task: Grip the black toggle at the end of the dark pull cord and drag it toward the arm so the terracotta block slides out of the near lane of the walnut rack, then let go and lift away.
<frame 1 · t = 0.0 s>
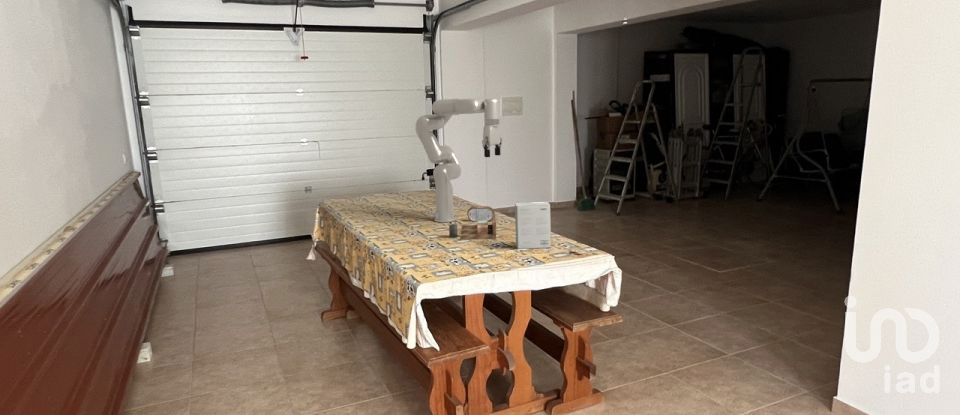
hand: (492, 156, 304), 37 cm above the table, tool pointing down, fingers open, 9 cm apart
tin: (481, 221, 325), on the table
lane rack: (476, 233, 296), on the table
hard drive box: (533, 246, 269), on the table
pull block: (482, 236, 290), on the table
sage block: (482, 231, 301), resting in lane rack
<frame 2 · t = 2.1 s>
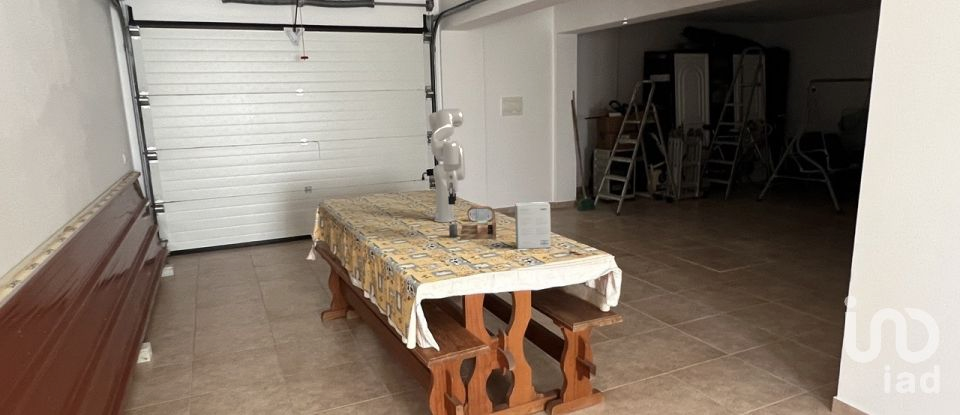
hand: (452, 202, 287), 17 cm above the table, tool pointing down, fingers open, 9 cm apart
nothing on the table moved.
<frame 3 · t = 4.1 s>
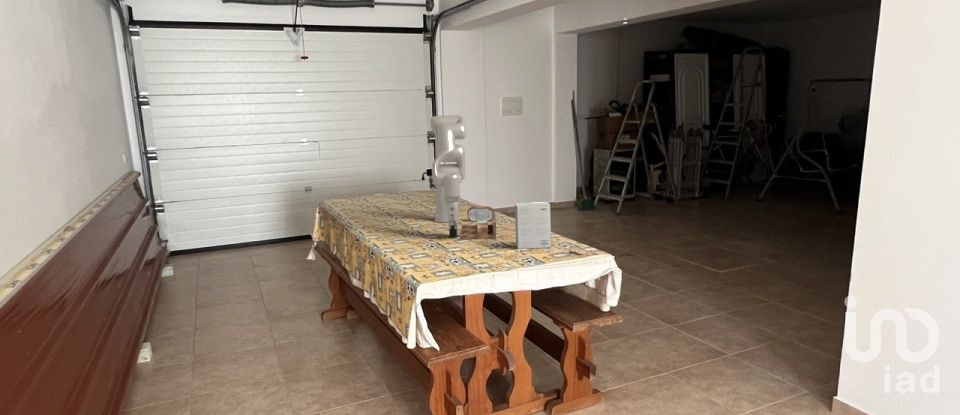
hand: (453, 235, 290), 1 cm above the table, tool pointing down, fingers closed on pull block, 4 cm apart
pull block: (482, 236, 290), on the table, touching gripper
everything else where it was.
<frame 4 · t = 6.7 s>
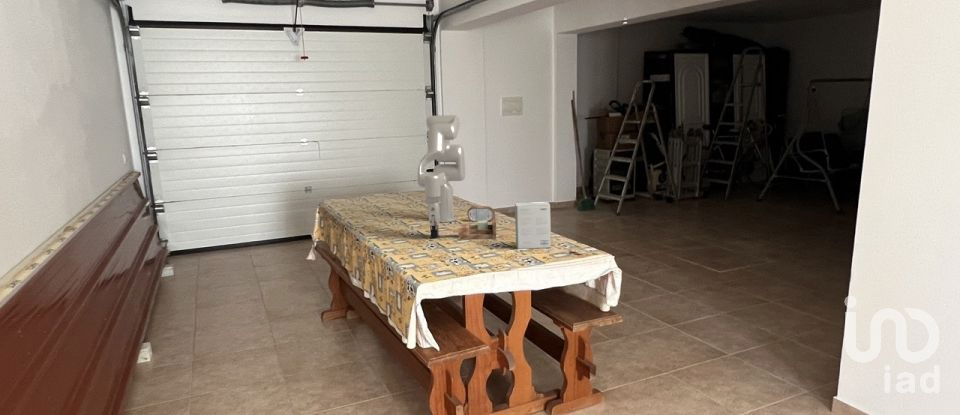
hand: (434, 235, 290), 1 cm above the table, tool pointing down, fingers closed on pull block, 4 cm apart
pull block: (464, 236, 290), on the table, touching gripper
everything else where it was.
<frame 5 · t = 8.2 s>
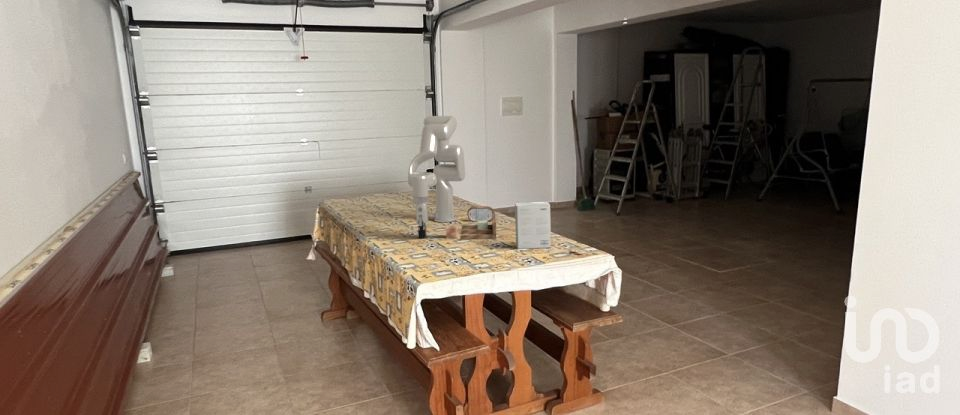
hand: (422, 236, 290), 1 cm above the table, tool pointing down, fingers closed on pull block, 4 cm apart
pull block: (451, 237, 290), on the table, touching gripper
everything else where it was.
when the fingers open (1 cm above the table, at t = 9.3 s): pull block stays where it is, on the table.
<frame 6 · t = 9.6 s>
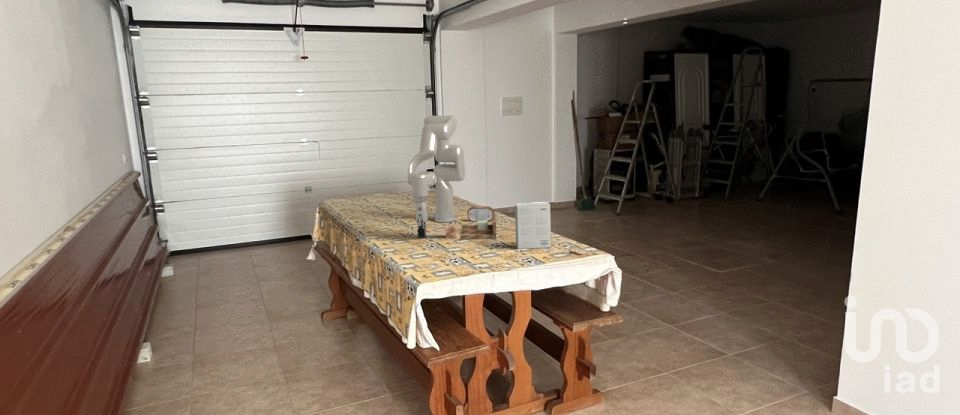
hand: (422, 234, 290), 2 cm above the table, tool pointing down, fingers open, 6 cm apart
pull block: (451, 237, 290), on the table
everything else where it was.
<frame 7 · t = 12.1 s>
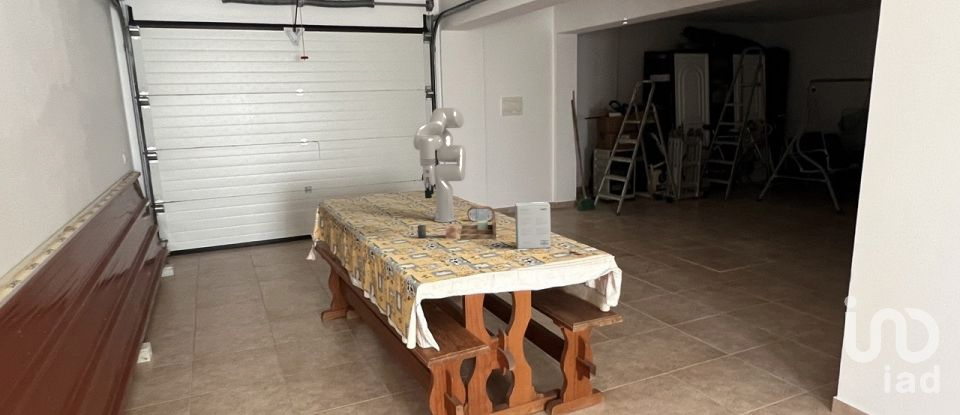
hand: (429, 196, 293), 20 cm above the table, tool pointing down, fingers open, 9 cm apart
nothing on the table moved.
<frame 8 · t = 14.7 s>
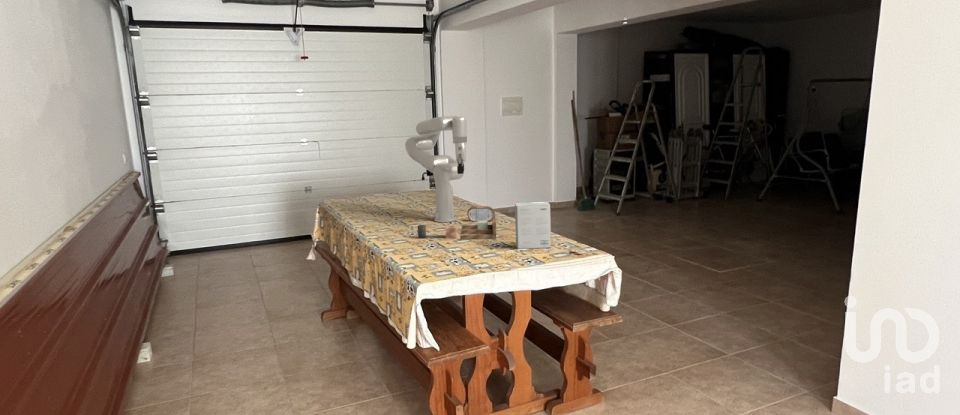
hand: (460, 172, 313), 28 cm above the table, tool pointing down, fingers open, 9 cm apart
nothing on the table moved.
at the end: pull block inside the target area (2.7 cm from its centre), on the table; pull block tilted 0°; the gripper is holding nothing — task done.
